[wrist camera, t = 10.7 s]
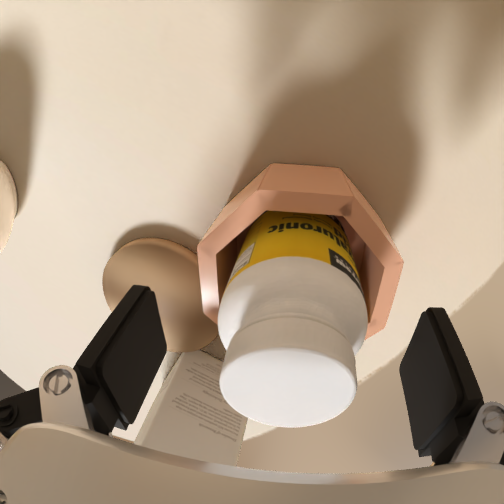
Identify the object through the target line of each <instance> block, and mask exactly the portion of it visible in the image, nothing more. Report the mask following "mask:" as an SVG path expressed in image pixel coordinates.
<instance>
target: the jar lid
mask: <svg viewBox="0 0 504 504" xmlns="http://www.w3.org/2000/svg"><path fill="white" fill-rule="evenodd" d="M133 285H142V286H148V287H150V289H151V291H154V292H155V296H156V300H157V305H158V309H159V314H160V318H161V323H162V327H163V331H164V335H165V339H166V343H167V351H170V352H191V351H196V350H199V349H202V348H204V347H205V346H207V345H209V344H210V343H211V342H212V341H213V340H214V339H215V338H216V337H217V335H218V333H219V331H218V325H217V324H216V323H215V322H213V321H212V320H211V319H210V318H209V317H207V316H206V315H205V314H204V312H203V303H202V294H201V284H200V274H199V264H198V256H197V255H196V254H195V253H193V252H192V251H190V250H189V249H187V248H185V247H183V246H181V245H180V244H177V243H174V242H172V241H169V240H165V239H160V238H141V239H137V240H133V241H131V242H129V243H127V244H125V245H124V246H123V247H121V248H120V249H119V250H118V251H117V252H116V253H115V254H114V255H113V256H112V257H111V258H110V259H109V261H108V262H107V264H106V266H105V269H104V273H103V291H104V295H105V298H106V301H107V304H108V306H109V308H110V310H111V311H112V312H113V310H114V309H115V308H116V306H117V305H118V304H119V302H120V301H121V300H122V298H123V297H124V296H125V294H126V293H127V292H128V291H129V289H130V288H131V287H132V286H133Z"/></svg>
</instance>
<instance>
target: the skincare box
mask: <svg viewBox="0 0 504 504" xmlns="http://www.w3.org/2000/svg"><path fill="white" fill-rule="evenodd" d="M222 366H223V361H221V360H219V359H217V358H215V357H213V356H211V355H209V354H207V353H205V352H203V351H201V350H196V351H191V352H182V354H181V355H180V357H179V359H178V360H177V362H176V363H175V365H174V367H173V368H172V370H171V371H170V373H169V374H168V376H167V378H166V379H165V381H164V383H163V385H162V387H161V389H160V391H159V393H158V395H157V397H156V399H155V400H154V402H153V404H152V406H151V408H150V410H149V413H148V415H147V417H146V419H145V421H144V423H143V425H142V427H141V429H140V431H139V433H138V435H137V437H136V439H135V442H134V444H136V445H139V446H143V447H147V448H150V449H154V450H157V451H161V452H165V453H169V454H173V455H177V456H181V457H186V458H190V459H195V460H200V461H205V462H211V463H216V464H222V465H228V466H235V467H236V466H237V462H238V457H239V453H240V449H241V445H242V441H243V436H244V432H245V428H246V424H247V419H248V418H247V417H245V416H244V415H242V414H240V413H239V412H237V411H236V410H235V409H233V408H232V407H231V406H230V405H229V404H228V403H227V401H226V400H225V399H224V397H223V395H222V392H221V390H220V384H219V380H220V373H221V370H222Z"/></svg>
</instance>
